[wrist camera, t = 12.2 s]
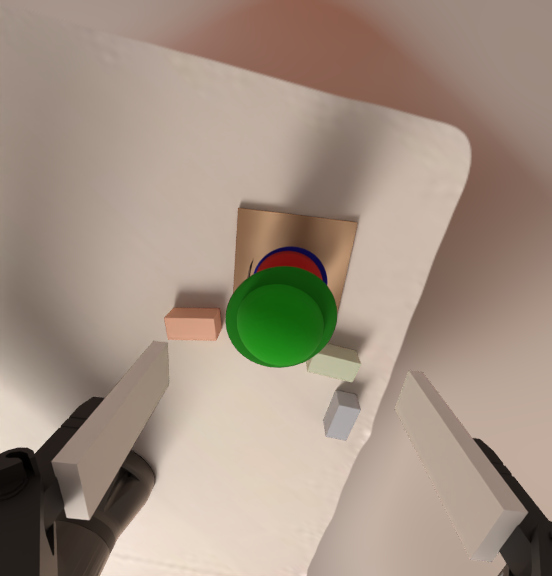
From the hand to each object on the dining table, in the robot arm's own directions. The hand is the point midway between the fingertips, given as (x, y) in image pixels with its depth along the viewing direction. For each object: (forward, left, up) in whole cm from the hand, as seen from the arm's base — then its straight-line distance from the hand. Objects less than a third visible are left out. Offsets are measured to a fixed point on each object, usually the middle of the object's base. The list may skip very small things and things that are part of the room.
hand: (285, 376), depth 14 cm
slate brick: (+10, -20, -19) cm, 29 cm away
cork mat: (0, 0, -18) cm, 18 cm away
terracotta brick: (-11, -8, -19) cm, 23 cm away
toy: (0, 0, -18) cm, 18 cm away
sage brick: (+7, -11, -19) cm, 23 cm away
